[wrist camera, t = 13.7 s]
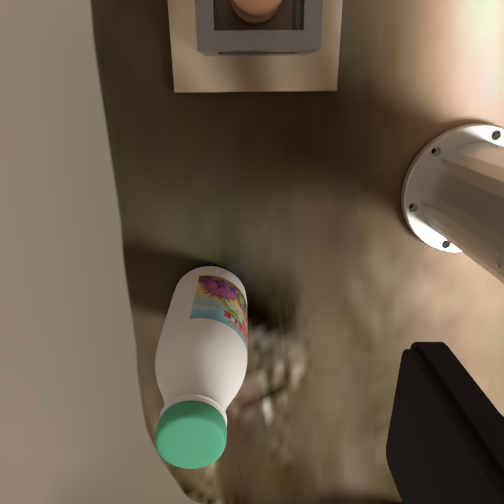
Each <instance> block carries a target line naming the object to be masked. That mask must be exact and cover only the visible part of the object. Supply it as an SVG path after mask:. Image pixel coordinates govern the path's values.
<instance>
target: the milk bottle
mask: <svg viewBox="0 0 504 504" xmlns="http://www.w3.org/2000/svg"><path fill="white" fill-rule="evenodd" d="M247 352H248V336H247V300H246V292H245V289H244V286H243V284H242V283H241V281H240V280H239V279H238V278H237V277H236V276H235V275H234V274H233V273H231V272H230V271H228V270H226V269H223V268H220V267H215V266H204V267H199V268H196V269H193V270H191V271H190V272H188V273H187V274H185V275H184V276H183V277H182V278H181V279H180V281H179V282H178V284H177V286H176V289H175V291H174V294H173V297H172V300H171V304H170V307H169V310H168V313H167V316H166V320H165V323H164V326H163V330H162V333H161V336H160V340H159V344H158V348H157V353H156V361H155V371H156V378H157V383H158V386H159V389H160V391H161V394H162V396H163V399H164V403H165V406H164V407H163V409H162V410H161V413H160V417H159V422H158V425H157V428H156V434H155V445H156V448H157V451H158V453H159V454H160V456H161V457H162V458H163V459H164V460H166V461H167V462H169V463H170V464H172V465H175V466H177V467H181V468H188V469H194V468H201V467H205V466H207V465H210V464H212V463H213V462H215V461H216V460H217V459H218V458H219V457H220V456H221V454H222V453H223V450H224V448H225V445H226V437H227V427H226V426H227V416H226V413H225V411H226V408H227V407H228V405H229V404H230V402H231V401H232V400H233V398H234V397H235V396H236V394H237V393H238V391H239V389H240V387H241V385H242V382H243V380H244V377H245V372H246V367H247Z"/></svg>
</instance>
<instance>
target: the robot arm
mask: <svg viewBox="0 0 504 504" xmlns="http://www.w3.org/2000/svg"><path fill="white" fill-rule="evenodd" d="M492 133H493V135H492ZM491 135H492V136H491ZM433 148H434V152H433V153H431V151H432V149H433ZM410 204H412V206H411V207H409V206H410ZM401 206H402V211H403V216H404V218H405V220H406V223H407V225H408V226H409V228H410V229H411V230H412V232H413V233H414V234H415V235H416V236H417V237H418V238H419V239H420V240H421V241H423V242H424V243H426V244H427V245H428V246H430V247H433V248H435V249H437V250H440V251H445V252H451V253H465V254H466V255H467V256H468V257H470V258H471V259H472V260H474V261H475V262H476V263H478V264H479V265H480V266H481V267H483V268H484V269H485V270H487V271H488V272H489V273H491V274H492V275H493V276H494V277H496V278H497V279H498V280H500V281H501V282H502V283H503V284H504V128H502V127H499V126H496V125H490V124H467V125H462V126H458V127H456V128H453V129H450V130H448V131H446V132H444V133H442V134H441V135H439V136H437V137H436V138H434V139H433V140H432V141H431V142H429V143H428V144H427V145H426V146H425V147H424V148H423V149H422V150H421V151H420V152H419V154H418V155H417V156H416V157H415V159H414V160H413V162H412V164H411V165H410V167H409V169H408V171H407V173H406V176H405V179H404V182H403V187H402V192H401ZM443 241H444V242H443ZM386 457H387V462H388V466H389V469H390V471H391V474H392V476H393V479H394V482H395V484H396V487H397V489H398V492H399V495H400V497H401V500H402V502H403V504H504V417H503V416H502V415H501V414H500V413H499V412H498V410H497V409H496V408H495V407H494V405H493V404H492V403H491V401H490V400H489V399H488V398H487V396H486V395H485V394H484V392H483V391H482V390H481V389H480V387H479V386H478V385H477V383H476V382H475V381H474V380H473V378H472V377H471V376H470V374H469V373H468V372H467V371H466V369H465V368H464V367H463V365H462V364H461V363H460V362H459V360H458V359H457V358H456V356H455V355H454V354H453V353H452V351H451V350H450V349H449V347H448V346H447V345H446V344H445V343H443V342H415V343H413V344H412V346H411V348H410V349H406V350H404V351H403V353H402V358H401V363H400V369H399V375H398V381H397V387H396V392H395V398H394V404H393V410H392V416H391V421H390V427H389V433H388V439H387V445H386Z"/></svg>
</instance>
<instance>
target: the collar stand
mask: <svg viewBox="0 0 504 504" xmlns="http://www.w3.org/2000/svg"><path fill="white" fill-rule="evenodd" d="M342 2H343V0H282V2H281V5H280V7H279V9H278V11H277V13H276V15H275V16H274V18H273V19H272V20H271V21H269V22H268V23H267V24H265V25H262V26H256V27H255V26H249V25H246V24H244V23H243V22H241V21H240V20H239V19H238V18H237V17H236V15H235V14H234V12H233V9H232V6H231V1H230V0H168V13H169V27H170V40H171V53H172V67H173V80H174V93H180V92H271V91H337V82H338V66H339V50H340V34H341V18H342Z"/></svg>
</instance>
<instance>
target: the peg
mask: <svg viewBox="0 0 504 504" xmlns="http://www.w3.org/2000/svg"><path fill="white" fill-rule="evenodd" d="M230 1H231V6H232V9H233V12H234V14H235V15H236V17H237V18H238V19H239V20H240V21H241V22H243V23H244V24H246V25H249V26H255V27H256V26H262V25H265V24H267V23H268V22H269V21H271V20H272V19H273V18H274V16H275V15H276V13H277V11H278V9H279V7H280V5H281V2H282V0H230Z"/></svg>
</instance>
